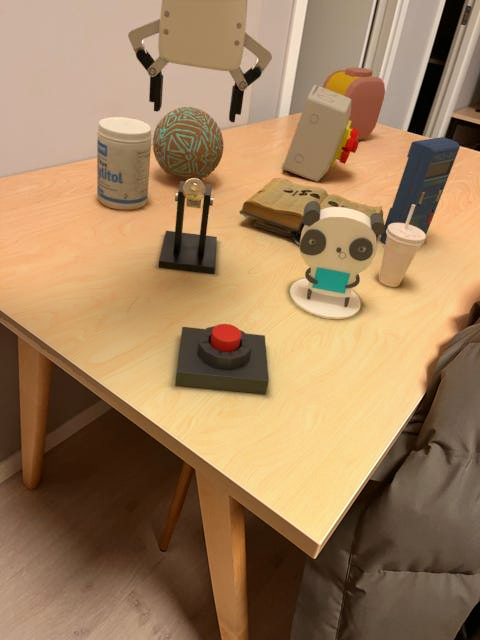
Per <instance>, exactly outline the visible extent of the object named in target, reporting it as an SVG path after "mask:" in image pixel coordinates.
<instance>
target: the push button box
mask: <svg viewBox="0 0 480 640" xmlns="http://www.w3.org/2000/svg"><path fill="white" fill-rule="evenodd" d="M215 326H216V325H214V326H209V327H206V328H198V327H191V326H190V327H189V326H182V328H181V334H180V342H179V347H178V348H179V349H178V355H177V356H178V357H177V363H176V364H177V365H176V371H175V372H176V373H175V383H174V385H175V386H176V387H177V386H178V387H180V386H181V387H189V388H199V389H210V390H220V391H229V392H241V393H250V394H251V393H252V394H261V395H266V394H267V390H268V386H269V382H270V381H269V380H270V379H269V369H268V357H267V345H266V344H267V343H266V335H265V334H255V333H246V332H244V331H243V330H241V329H239V330H240V331H241V340H240V345H239V348H238V349H237V350H236V351H233V352H221V351H219V350H217V349H215V348H213V347H212V345H211V335H212V329H213V328H214V327H215Z"/></svg>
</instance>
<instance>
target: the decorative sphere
mask: <svg viewBox="0 0 480 640" xmlns="http://www.w3.org/2000/svg"><path fill="white" fill-rule="evenodd" d="M214 119H215V118H213V117H212V116H211V115H210V114H208V113H207V112H205V111H204V110H202V109H199V108H195V107H191V106H183V107H177V108H176V109H173V110H171V111H169V112H167V113H166V114H165V115H164V116H163V117H162V118H161V119H160V120H159V122H158V123H157V125H156V127H155V129H154V131H153V132H154V133H153V137H152V151H153V155H154V157H155V161H156V162H157V163H158V165H159V167H160V168H161V169H162V170H163V171H164V173H166V174H167V175H168V176H170V177H171V178H174V179H176V180H178V181H183V182H186V181H187V180H189V179H191V178H196V179H199V180H202V179H205V178H207V177H209V175H211V174H212V173H213V172H214V171H215V170H216V168H217V167H218V166H219V164H220V163H221V160H222V157H223V153H224V139H223V134H222V131H221V128H220V126H218V123H217V122H216V121H215V120H214Z"/></svg>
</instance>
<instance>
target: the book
mask: <svg viewBox="0 0 480 640" xmlns="http://www.w3.org/2000/svg"><path fill="white" fill-rule="evenodd" d="M311 201H317V202H318V203H319V204H320V206H321V210H322V209H325V208H329V207H344V208H349V209H353V210H356V211H359V212H362V213H364V214H365V215H367V216H368V217H369V218H370V217H371V215H372V214H373V213H380V214H382V216H383V217H384V209H383V206H382V205H380V206H373V205H367V204H362V203H358V202H355V201H352V200H349V199H348V198H345V197H343V196H340V195H338V194H335V193H331V194H330V193H329V194H328V191H327V190H326V189H325V188H322V187H320V186H319V187H318V186H317V187H316V186H311V185H302V184H298V183H294V182H292V181H291V180H288V179H285V178H281V177H273V178H272V179H271V180H270V181H269V182H268V183H266V184H265V185H264V186H263V187H262V188H260V189H259V190H258V191H256V193H254V194H252V196H251V197H249V198H248V199H247V200H245V201H244V202H243V203H242V209H241V210H239V211H238V213H239V214H240V215H242V216H243V217H245V218H246V217H247V218H250V219H254V220H255V221H253V224H252V226H253V227H257V228H261V229H263V230H267V231H270V232H273V233H276V234H279V235H282V236H286V237H292V240H293V241H294V242H295V244H296V245H298V246H300V239H301V233H302V230H303V227H304V225H305V224H304V223H303V213H304V208H305V206H306V204H307V203H309V202H311ZM375 235H376V236H378V235H377V234H375Z"/></svg>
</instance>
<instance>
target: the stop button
mask: <svg viewBox="0 0 480 640" xmlns="http://www.w3.org/2000/svg"><path fill="white" fill-rule="evenodd" d="M214 326H215V327H214V328H213V329H212V335H211V345H212V347H213V348H215V349H217V350H219V351H221V352H233V351H236V350H237V349H238V348H239V345H240V340H241V331H242V330H241V329H239V328H238V327H237V326H235V325H233V324H230V323H219V324H216V325H214ZM240 330H241V331H240Z"/></svg>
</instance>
